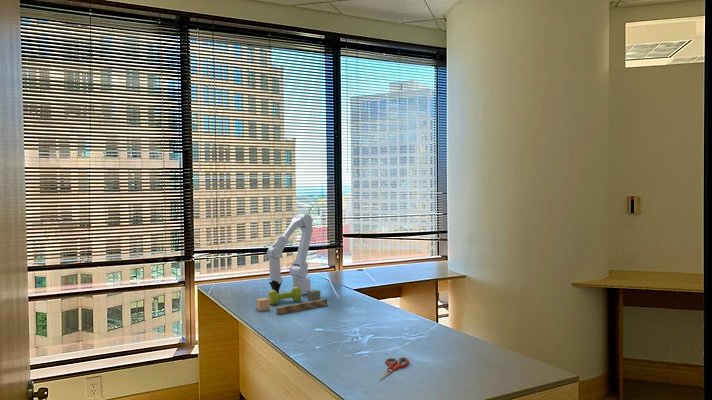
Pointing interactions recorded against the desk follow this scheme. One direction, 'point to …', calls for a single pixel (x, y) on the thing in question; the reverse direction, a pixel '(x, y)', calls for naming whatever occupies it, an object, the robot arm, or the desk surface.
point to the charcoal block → (313, 295)
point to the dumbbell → (284, 295)
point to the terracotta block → (262, 304)
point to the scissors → (394, 365)
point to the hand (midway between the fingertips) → (276, 295)
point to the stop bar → (301, 306)
